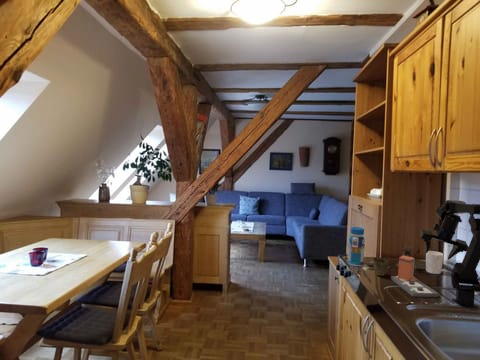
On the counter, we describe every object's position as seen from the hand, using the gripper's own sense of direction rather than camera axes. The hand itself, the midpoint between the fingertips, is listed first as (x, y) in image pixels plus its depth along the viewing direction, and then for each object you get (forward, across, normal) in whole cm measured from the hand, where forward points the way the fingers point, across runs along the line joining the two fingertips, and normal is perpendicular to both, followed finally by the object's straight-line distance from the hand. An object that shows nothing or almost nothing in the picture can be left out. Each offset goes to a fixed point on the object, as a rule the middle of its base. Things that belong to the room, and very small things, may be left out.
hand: (437, 255), depth 156 cm
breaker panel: (+13, +8, +13) cm, 20 cm away
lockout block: (+13, +10, +6) cm, 18 cm away
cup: (+18, +20, +3) cm, 27 cm away
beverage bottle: (+23, +32, -10) cm, 41 cm away
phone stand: (+19, +7, -15) cm, 25 cm away
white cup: (+16, -5, -16) cm, 23 cm away
